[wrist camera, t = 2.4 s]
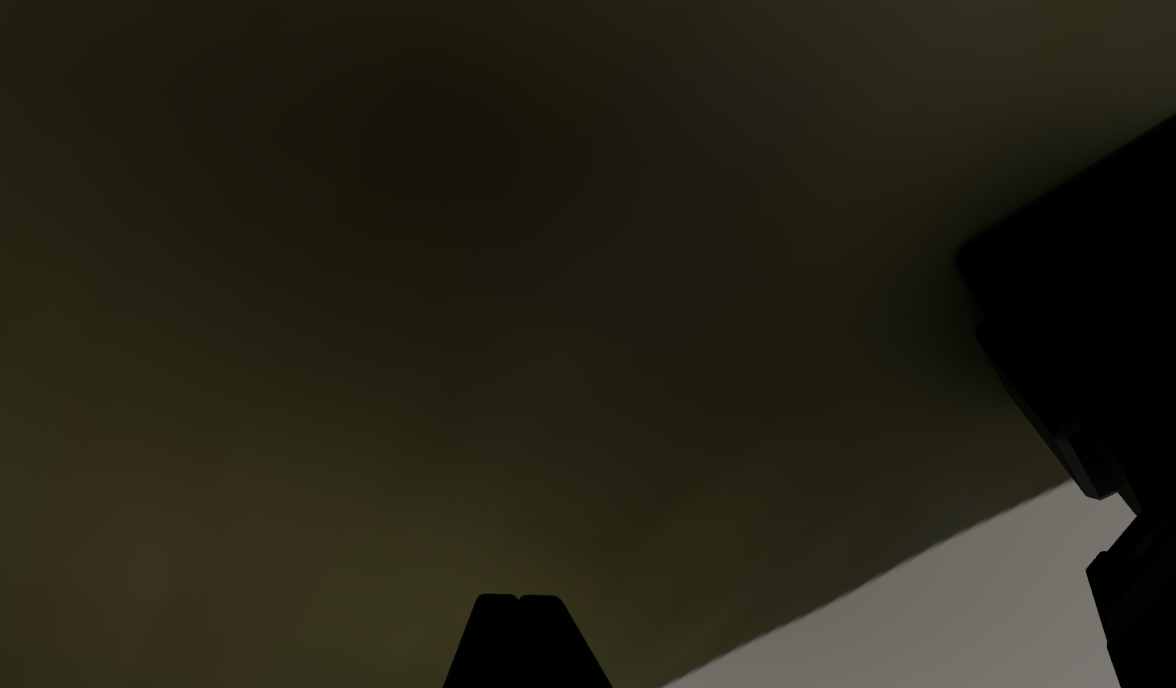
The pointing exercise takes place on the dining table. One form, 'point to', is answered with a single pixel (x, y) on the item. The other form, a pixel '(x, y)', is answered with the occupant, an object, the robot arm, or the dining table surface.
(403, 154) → the dining table surface
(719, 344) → the dining table surface
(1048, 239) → the robot arm
